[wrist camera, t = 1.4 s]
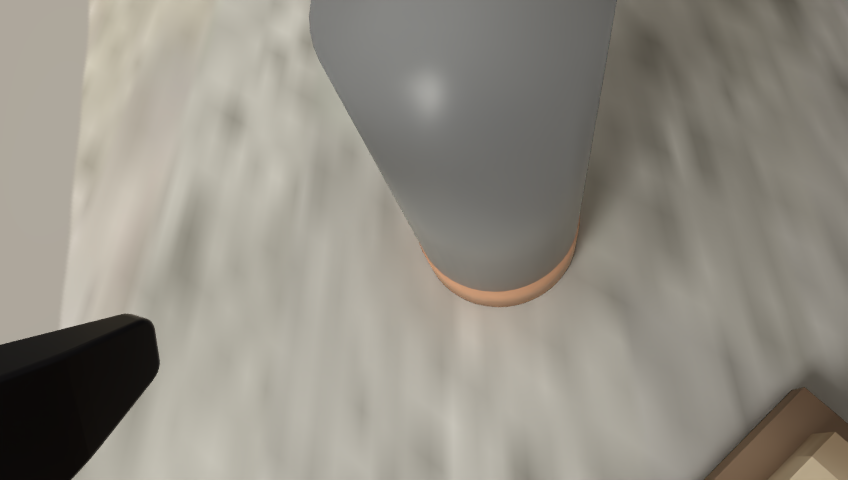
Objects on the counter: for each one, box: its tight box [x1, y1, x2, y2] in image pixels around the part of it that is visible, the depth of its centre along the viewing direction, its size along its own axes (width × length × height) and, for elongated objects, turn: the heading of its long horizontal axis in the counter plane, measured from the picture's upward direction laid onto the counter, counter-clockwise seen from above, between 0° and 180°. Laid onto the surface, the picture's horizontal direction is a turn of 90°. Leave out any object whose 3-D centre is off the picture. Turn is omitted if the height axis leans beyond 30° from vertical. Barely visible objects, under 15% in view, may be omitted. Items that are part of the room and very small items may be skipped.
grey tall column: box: [309, 0, 617, 307], centre depth 17 cm, size 6×6×13 cm
